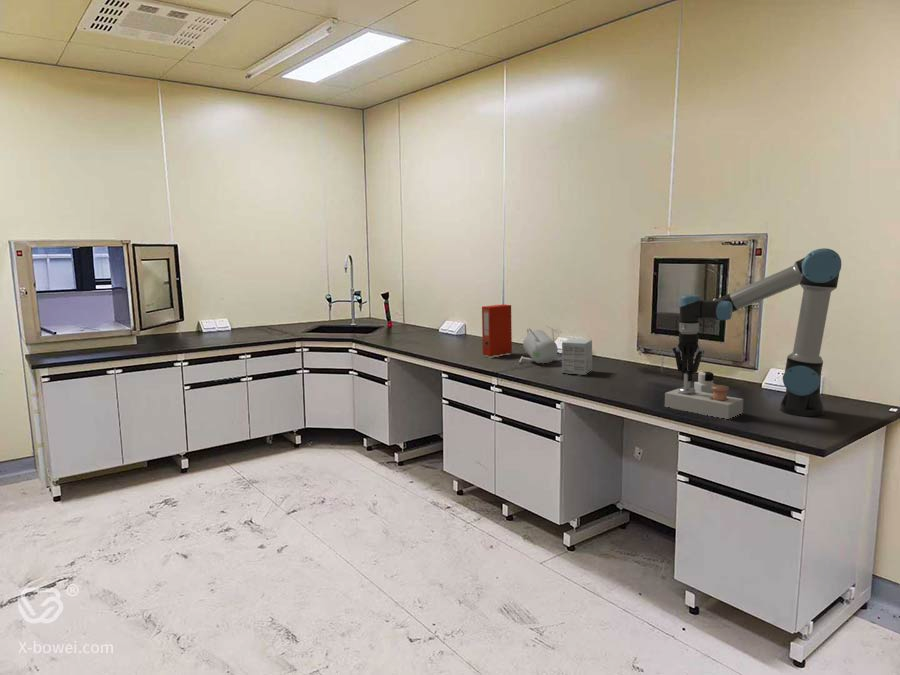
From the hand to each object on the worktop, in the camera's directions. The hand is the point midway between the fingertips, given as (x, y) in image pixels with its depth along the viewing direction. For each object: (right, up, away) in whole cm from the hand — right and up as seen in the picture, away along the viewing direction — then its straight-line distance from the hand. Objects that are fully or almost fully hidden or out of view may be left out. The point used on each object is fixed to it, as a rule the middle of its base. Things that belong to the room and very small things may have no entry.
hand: (686, 388), depth 248 cm
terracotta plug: (+9, -6, -10) cm, 15 cm away
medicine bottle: (+13, -6, +12) cm, 19 cm away
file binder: (-69, +9, +129) cm, 147 cm away
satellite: (-45, +6, +103) cm, 112 cm away
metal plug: (0, -8, +1) cm, 8 cm away
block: (+5, -9, -4) cm, 11 cm away
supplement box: (-30, +2, +74) cm, 79 cm away
